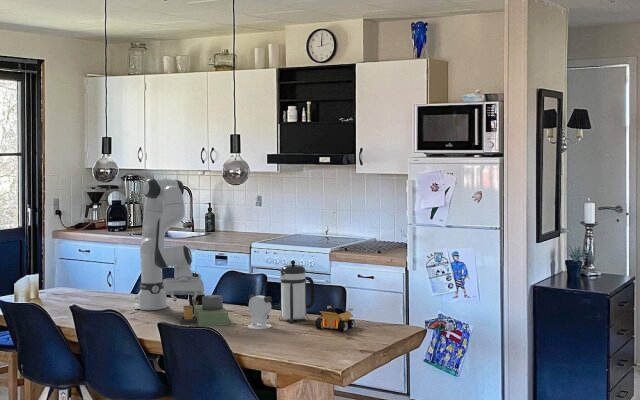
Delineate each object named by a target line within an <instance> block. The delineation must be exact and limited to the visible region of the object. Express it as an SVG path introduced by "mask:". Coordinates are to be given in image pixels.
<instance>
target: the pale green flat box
mask: <svg viewBox="0 0 640 400" xmlns="http://www.w3.org/2000/svg"><path fill="white" fill-rule="evenodd" d="M223 300H224V297H223V296H222V295H219V294H218V295H217V294H209V295H205V296H203V297H202V305H194V314H193V319H186V320H184V316H180V317H179V323H180V325H189V324H197V326H198V327H211V326H212V327H213V326H215V327H216V326H228V325H229V312H228V311H227V309H226V308H225V307H224V306H223V302H224V301H223Z"/></svg>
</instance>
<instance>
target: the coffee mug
mask: <svg viewBox="0 0 640 400" xmlns="http://www.w3.org/2000/svg"><path fill="white" fill-rule="evenodd" d="M187 296H188V303H189V305H192V306H193V315H194V305H202V297H203V296H206V293H205V292H204V293H203V294H202V295H197V297H196V298H195V301H192V297H194V295H187Z"/></svg>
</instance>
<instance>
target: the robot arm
mask: <svg viewBox="0 0 640 400" xmlns="http://www.w3.org/2000/svg"><path fill="white" fill-rule="evenodd" d="M142 192H143V195H144V196H145V201H144V205H143V206H144V207H143V217H142V230H141V231H142V232H141V243H140V245H139V251H140V253H139V255H140V266H141V267H140V271H141V273H140V276H141V277H140V278H141V279H140V280H141V281H140V284H139V285H140V286H139V287H140V290H139V292H138V293H137V294H136V296H134V301H136V302H134V303H133V304H132V306H133V305H134V306H133V308H134V307H135V308H134V310H135V309H140V310H139V311H156V310H163V309H166V308H169V307H170V304H169V303H168V301H167V295H168V296H170V297H171V298H172V301H173V302H177V296H178V295H179V296H180V295H183V296H185V295H187V296H188V295H194V297H192V301H195V298H196V297H197V295H202V294H203V293H205V287H204V282H203V280H202V277H201V276H202V275H201V273H196V272H193V271H192V270H191V268H192V262H193V260H192V259H193V257H192V251H191V249H190V248H189V247H188V246H186V245H176V246H170V247H165V246H164V245H165V235H166V232H167V231H168V230H169V229H170V228H173V227H174V226H176V225H178V224H179V223H181V221H183V219H184V218H185V216H186V207H185V201H184V197H183V195H184V192H185V186H184V183H183V181H180V180H179V179H171V178H154V177H152V178H147V179H146V180H145V181H144V183H143V185H142ZM170 267H173V269H174V273H173V276H174V277H166V278H164V279H163V269H166V268H170ZM175 295H177V296H175Z"/></svg>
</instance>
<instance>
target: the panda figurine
mask: <svg viewBox="0 0 640 400" xmlns="http://www.w3.org/2000/svg"><path fill="white" fill-rule="evenodd" d="M247 297H248V299H249V301H248V310H249V312H250V314H251V324H248V325H247V328H248V329H251V330H267V329H270V328H272V325H271V324H270V323H269V324H268V319H269V317H270V315H269V314H270V313H271V311H272V309H273V306H272V301H273V297H272V296H271V295H270V296H268V295H267V296H264V295H257V294H256V293H255V294H249V295H248V296H247Z"/></svg>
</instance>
